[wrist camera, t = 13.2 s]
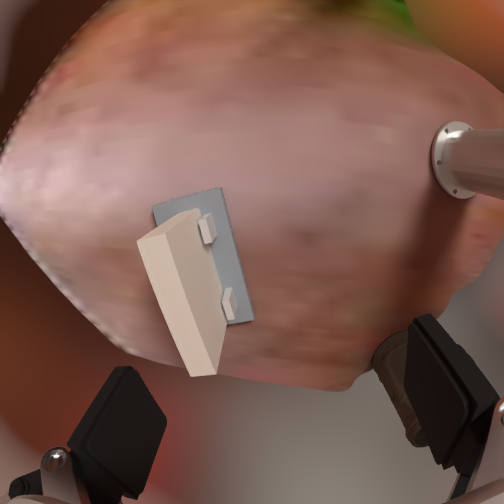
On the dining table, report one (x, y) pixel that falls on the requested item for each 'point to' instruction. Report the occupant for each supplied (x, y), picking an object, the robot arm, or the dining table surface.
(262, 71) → the dining table surface
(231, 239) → the hinge plate
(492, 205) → the dining table surface
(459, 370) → the robot arm
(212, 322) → the cabinet door
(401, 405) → the beer stein
